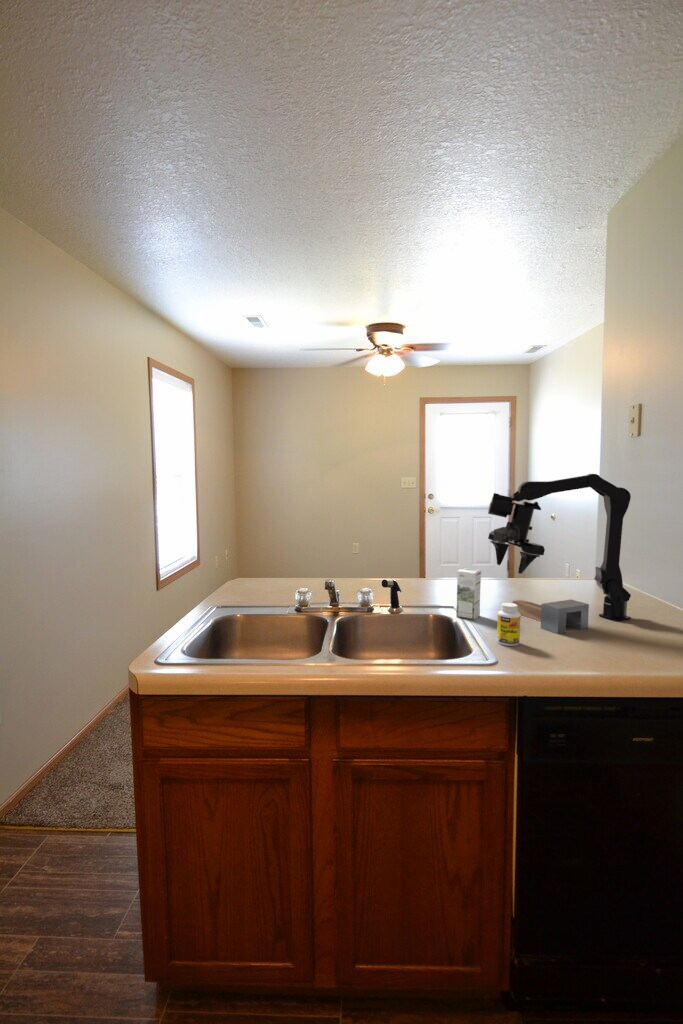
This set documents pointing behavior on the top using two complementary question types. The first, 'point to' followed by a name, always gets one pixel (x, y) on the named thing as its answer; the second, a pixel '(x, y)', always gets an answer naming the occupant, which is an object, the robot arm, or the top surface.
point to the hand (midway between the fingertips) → (508, 569)
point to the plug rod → (529, 609)
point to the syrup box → (468, 593)
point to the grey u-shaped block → (564, 615)
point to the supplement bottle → (508, 625)
